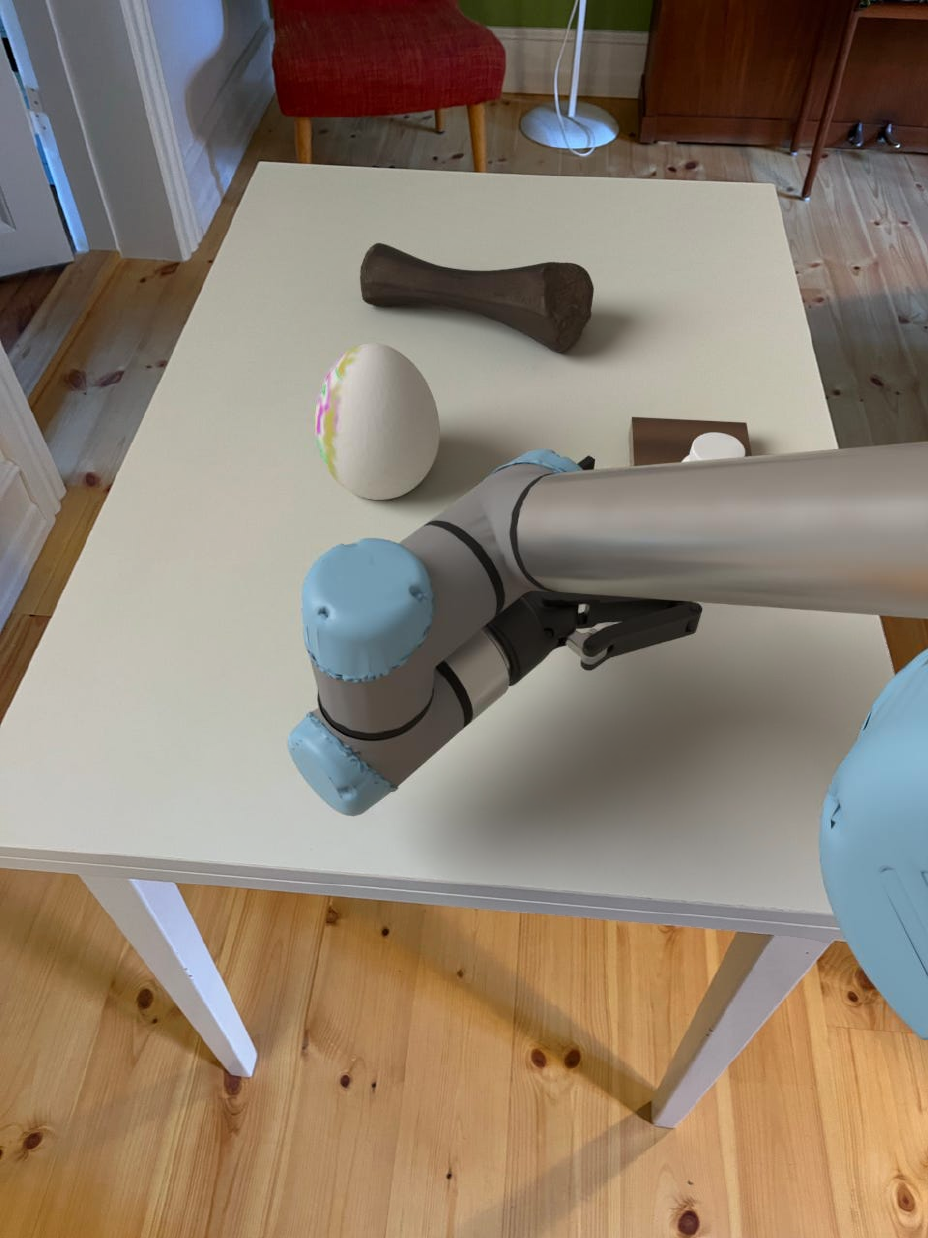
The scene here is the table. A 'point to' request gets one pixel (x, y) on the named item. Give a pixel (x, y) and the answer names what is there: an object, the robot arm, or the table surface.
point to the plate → (675, 438)
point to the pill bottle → (715, 447)
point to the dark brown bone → (487, 292)
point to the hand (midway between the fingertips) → (653, 506)
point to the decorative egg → (376, 422)
